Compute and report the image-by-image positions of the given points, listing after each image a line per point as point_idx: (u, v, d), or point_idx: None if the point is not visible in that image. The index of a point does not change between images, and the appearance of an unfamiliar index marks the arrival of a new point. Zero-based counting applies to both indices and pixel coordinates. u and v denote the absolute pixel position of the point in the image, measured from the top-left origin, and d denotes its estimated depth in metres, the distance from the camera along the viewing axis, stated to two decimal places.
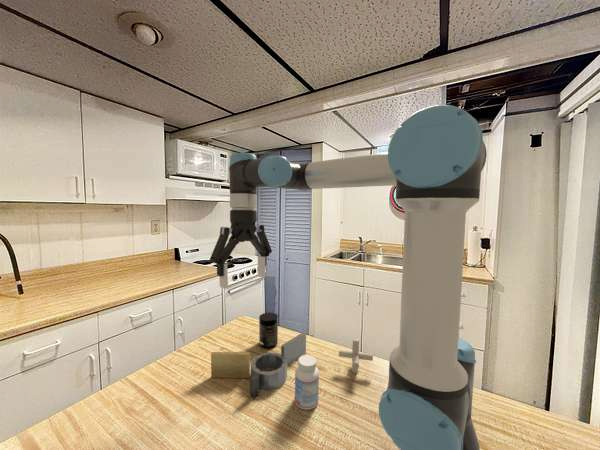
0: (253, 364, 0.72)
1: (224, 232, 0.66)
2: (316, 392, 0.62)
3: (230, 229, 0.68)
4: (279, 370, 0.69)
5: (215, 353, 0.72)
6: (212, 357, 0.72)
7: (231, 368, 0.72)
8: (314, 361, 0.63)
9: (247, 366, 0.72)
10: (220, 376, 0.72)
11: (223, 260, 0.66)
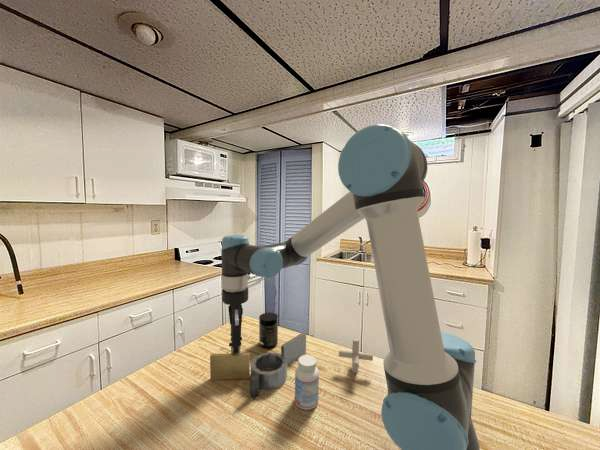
0: (253, 364, 0.72)
1: None
2: (316, 392, 0.62)
3: None
4: (279, 370, 0.69)
5: (214, 354, 0.71)
6: (211, 359, 0.71)
7: (231, 369, 0.71)
8: (314, 361, 0.63)
9: (247, 367, 0.72)
10: (219, 378, 0.71)
11: (231, 337, 0.75)
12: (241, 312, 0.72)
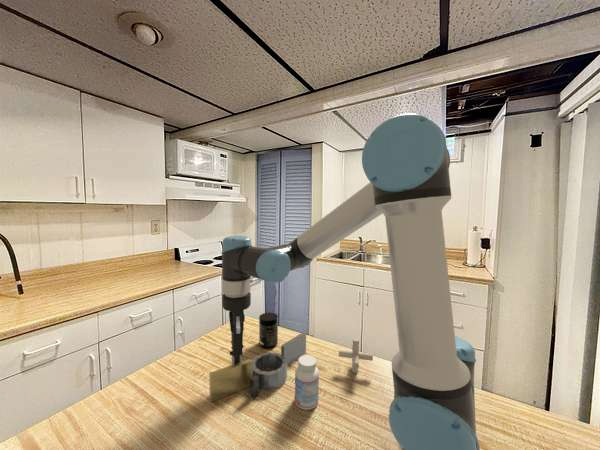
0: (253, 364, 0.72)
1: None
2: (316, 392, 0.62)
3: None
4: (279, 370, 0.69)
5: (213, 372, 0.64)
6: (212, 378, 0.63)
7: (233, 382, 0.66)
8: (314, 361, 0.63)
9: (249, 374, 0.69)
10: (221, 396, 0.65)
11: None
12: (243, 319, 0.67)
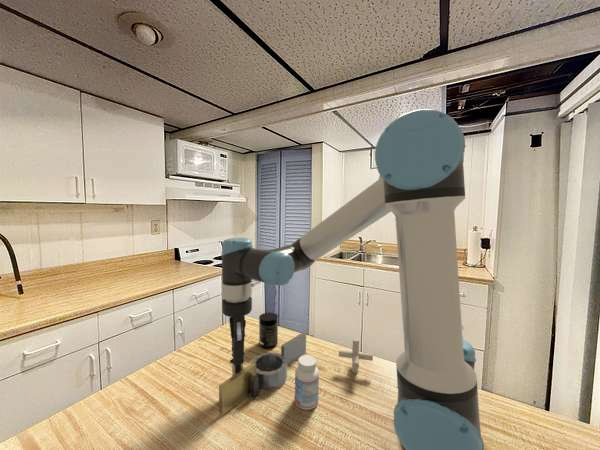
0: None
1: None
2: (316, 392, 0.62)
3: None
4: (279, 370, 0.69)
5: (223, 383, 0.60)
6: (223, 390, 0.59)
7: (241, 390, 0.64)
8: (314, 361, 0.63)
9: None
10: (231, 407, 0.61)
11: (232, 352, 0.67)
12: (244, 325, 0.64)
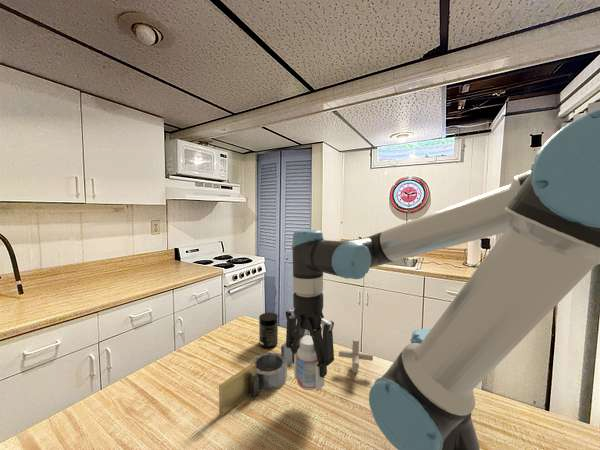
0: None
1: None
2: None
3: (293, 312, 0.65)
4: (279, 370, 0.69)
5: (223, 383, 0.60)
6: (223, 390, 0.59)
7: (241, 390, 0.64)
8: None
9: None
10: (231, 407, 0.61)
11: (292, 348, 0.64)
12: None
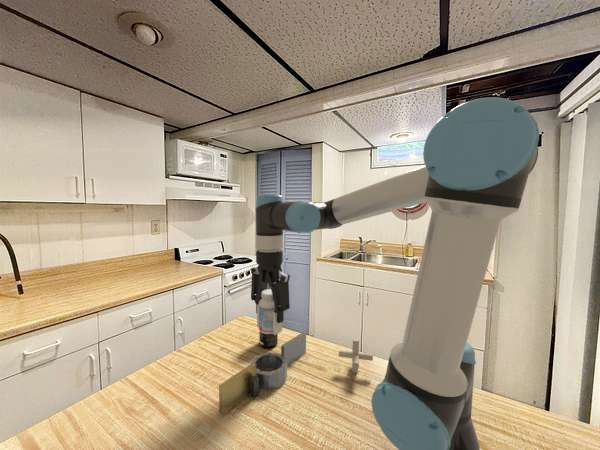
0: None
1: None
2: None
3: (257, 268, 0.73)
4: (279, 370, 0.69)
5: (223, 383, 0.60)
6: (223, 390, 0.59)
7: (241, 390, 0.64)
8: None
9: None
10: (231, 407, 0.61)
11: (256, 300, 0.73)
12: None
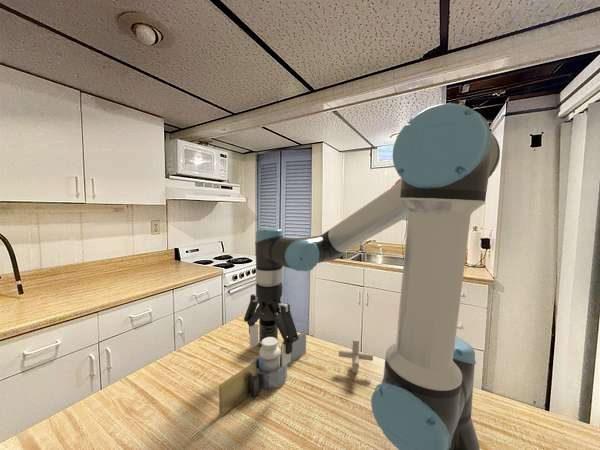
0: None
1: None
2: (277, 368, 0.71)
3: (256, 297, 0.74)
4: (279, 370, 0.69)
5: (223, 383, 0.60)
6: (223, 390, 0.59)
7: (241, 390, 0.64)
8: (275, 342, 0.71)
9: None
10: (231, 407, 0.61)
11: (249, 322, 0.76)
12: None
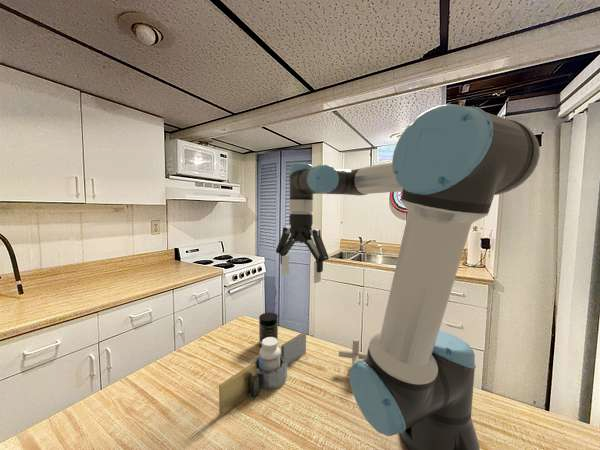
0: None
1: None
2: None
3: (289, 229, 0.83)
4: (279, 370, 0.69)
5: (223, 383, 0.60)
6: (223, 390, 0.59)
7: (241, 390, 0.64)
8: (275, 342, 0.71)
9: None
10: (231, 407, 0.61)
11: (281, 252, 0.85)
12: None
